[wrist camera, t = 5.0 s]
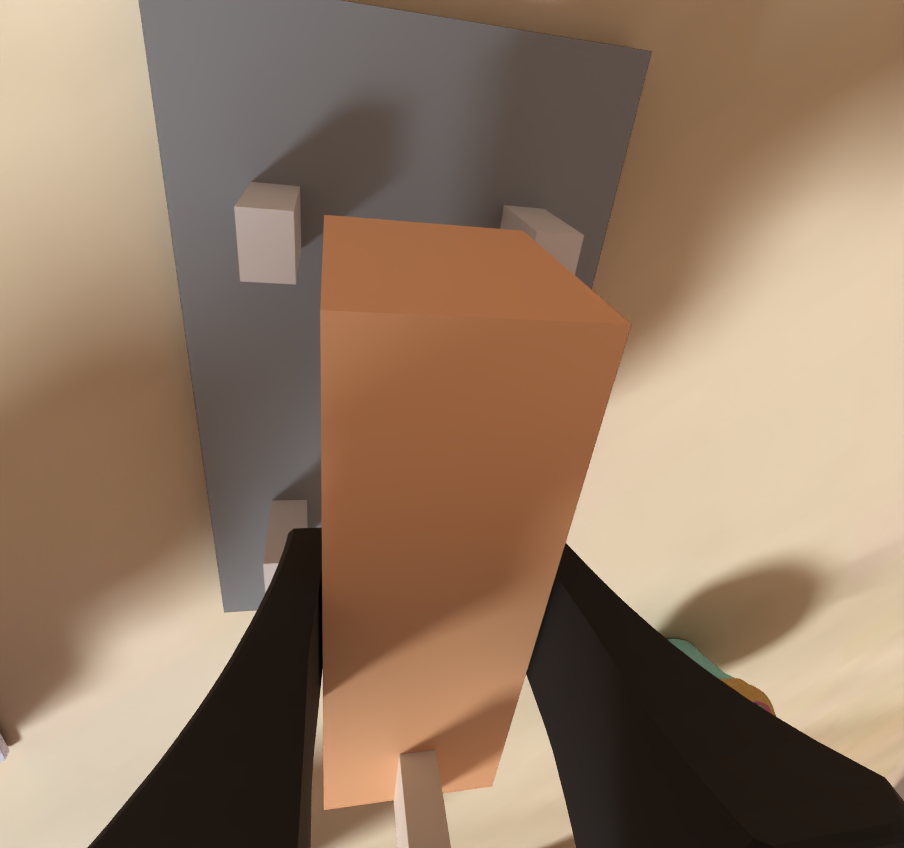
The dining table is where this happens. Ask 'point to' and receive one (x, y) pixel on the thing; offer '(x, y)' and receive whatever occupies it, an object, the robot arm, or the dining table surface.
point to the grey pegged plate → (348, 200)
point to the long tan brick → (444, 495)
